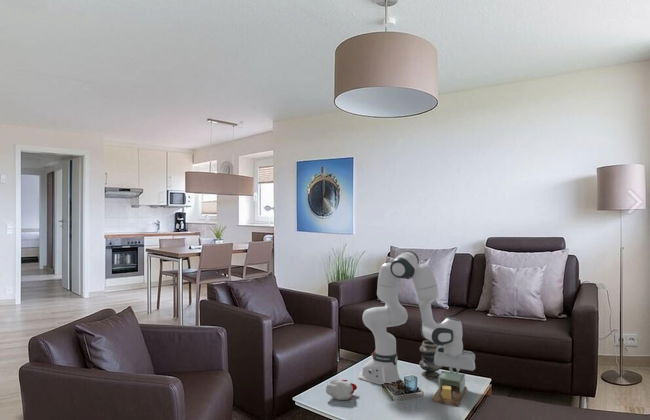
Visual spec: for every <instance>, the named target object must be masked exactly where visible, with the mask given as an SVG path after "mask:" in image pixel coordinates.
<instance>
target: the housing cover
mask: <svg viewBox="0 0 650 420" xmlns="http://www.w3.org/2000/svg"><path fill="white" fill-rule="evenodd" d="M453 372H454V371H453ZM453 372H450V371H447V370H442V371H441V372H440V373H439V374H440V375H439V377H438V379H437V380H438V382H437V383H438V389H441V388H442V386H443V385H444V384H448V385H453V386H459V387H460V393H462V392H463V390H464V388H465V386H466V378H465V377H466V374H465V373H459V372H458V373H453Z"/></svg>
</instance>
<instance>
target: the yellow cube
mask: <svg viewBox="0 0 650 420" xmlns="http://www.w3.org/2000/svg"><path fill="white" fill-rule="evenodd" d="M442 398H445V399H451V386H442Z"/></svg>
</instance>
